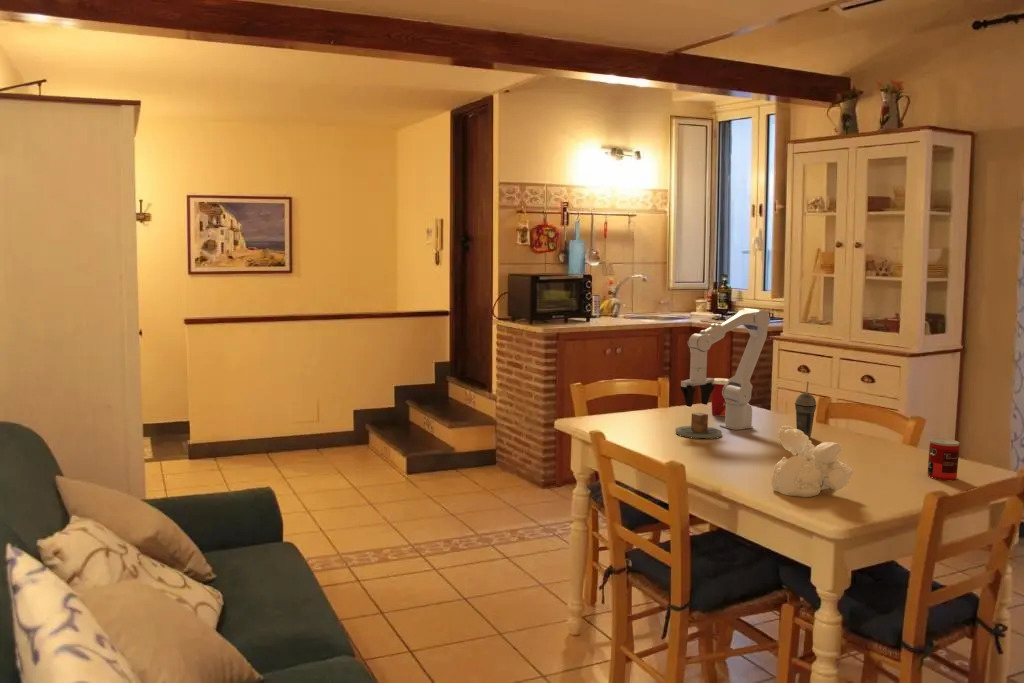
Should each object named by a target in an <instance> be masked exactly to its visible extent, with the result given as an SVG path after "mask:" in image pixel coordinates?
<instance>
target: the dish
mask: <svg viewBox="0 0 1024 683" xmlns="http://www.w3.org/2000/svg"><path fill="white" fill-rule="evenodd" d="M675 432H676V433H677V434H678V435H677V434H676V433H675V434H676V435H677V436H679V435H681V436H680V437H682V436H686V437H685V438H687V437H692V438H691V439H694V438H715V439H718V438H717V437H719V438H721V437H722V435H723V431H722V430H721V429H718V428H716V427H710V426H708V429H707V431H706V432H696V431H692V430H691V425H683V426H682V425H681V426H679V427H676V428H675ZM720 436H721V437H720Z"/></svg>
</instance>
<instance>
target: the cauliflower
mask: <svg viewBox="0 0 1024 683" xmlns="http://www.w3.org/2000/svg"><path fill="white" fill-rule="evenodd" d="M777 434H778V439H779V442H780V443H781V445H782V447H783V448H784V450H786V451H789V452H790V453H791V455H792V456H791V457H789V458H787V457H786V456H783V457H782V458H781V460H779V461H778V462H776V463H775V465H774V468H773V471H772V476H771V483H770V484H771V487H772V490H773V491H774V492H777V493H779V494H780V495H784V496H787V497H788V496H789V497H800V498H811V497H815V496H818V495H819V494H820V493H821V491H825V490H829V489H832V490H835V491H838V490H841V489H843V488H844V487H846V486H847V484H849V482H850V479H851V478H852V475H853V472H854V471H853V469H852V468H851V466H849V465H848V464H846V463H844V462H841V461H840V460H838V456H840V453H841V452H842V444H840V443H839V442H838V443H837V442H831V441H823V442H820V443H819V444H818V445H814V444H813V443H812V440H810V438H809V437H808V436H807V435H805V434H804V432H802V431H801V430H798V429H797V428H794V427H793V426H791V425H788V424H785V425H782V426H780V428H779V430H778V432H777Z"/></svg>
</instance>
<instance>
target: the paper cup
mask: <svg viewBox="0 0 1024 683" xmlns="http://www.w3.org/2000/svg"><path fill="white" fill-rule="evenodd" d="M729 379H730V378H722V377H714V384H712V385H715V386H714V389H713V391H712V392H711V415H712V414H714V415H713V416H715V415H725V413H726V402H725V399H724V397H723V395H722V390H723V388H724V386H725V385H726V384H727V383H728V380H729Z"/></svg>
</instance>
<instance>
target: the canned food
mask: <svg viewBox="0 0 1024 683" xmlns="http://www.w3.org/2000/svg"><path fill="white" fill-rule="evenodd" d="M928 448H929V449H928V462H927V476H928V477H929V476H930V477H929V478H931V477H933V478H936V479H935V480H938V479H941V480H940V481H945V480H952V481H955V480H956V479H957V478H958V468H959V466H958V465H959V454H960V442H959V441H958V440H955V439H954V440H953V439H950V438H943V437H942V438H941V437H933V438H930V439H929V447H928ZM933 478H932V479H933Z"/></svg>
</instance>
